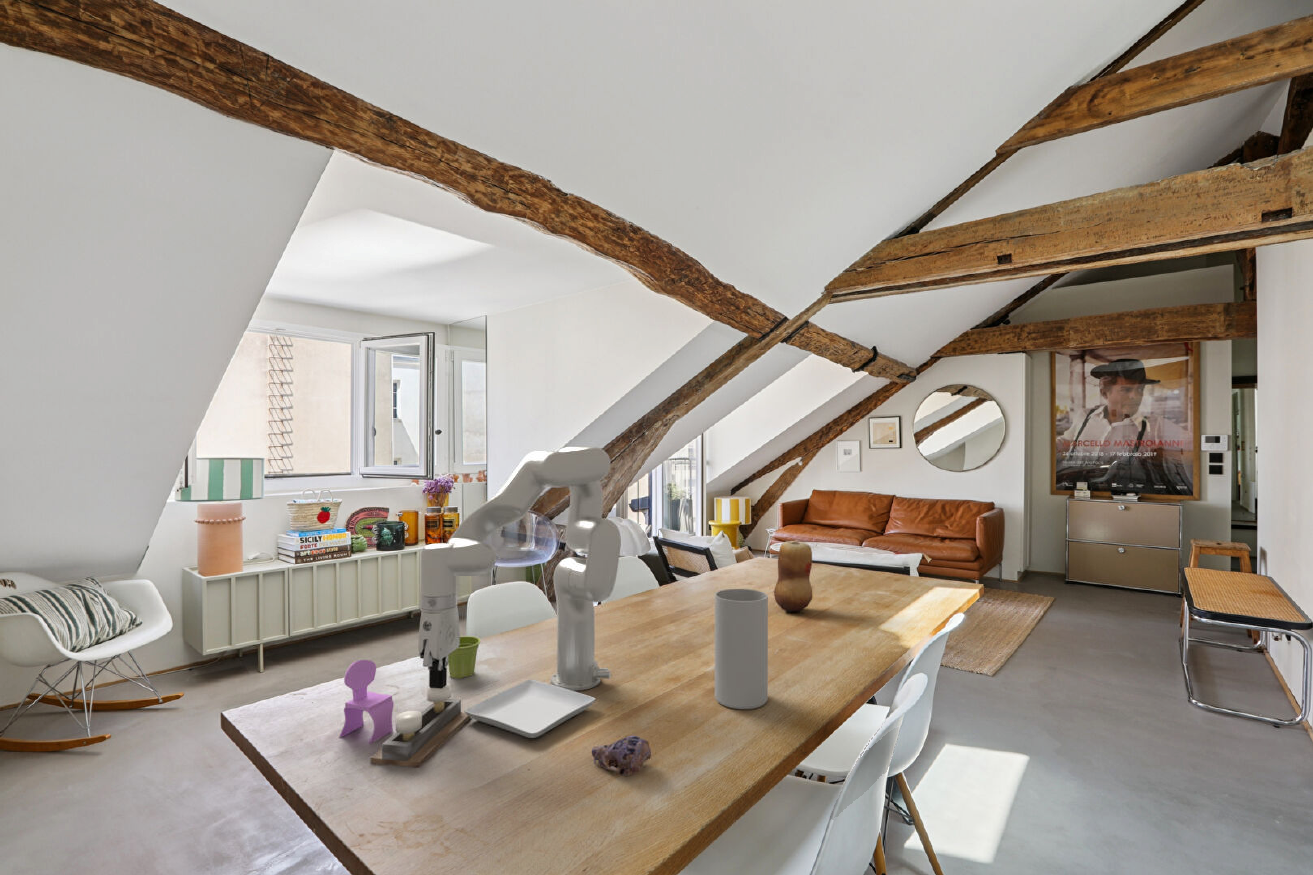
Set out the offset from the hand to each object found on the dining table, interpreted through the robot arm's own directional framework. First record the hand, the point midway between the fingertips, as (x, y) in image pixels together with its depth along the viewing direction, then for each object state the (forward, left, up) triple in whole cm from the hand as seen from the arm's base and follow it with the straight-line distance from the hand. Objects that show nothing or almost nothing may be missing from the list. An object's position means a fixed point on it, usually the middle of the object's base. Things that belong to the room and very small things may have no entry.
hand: (437, 686), depth 139 cm
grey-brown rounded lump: (-43, +10, -9) cm, 45 cm away
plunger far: (0, 0, -5) cm, 5 cm away
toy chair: (+13, +6, -9) cm, 17 cm away
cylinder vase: (-64, -25, -9) cm, 69 cm away
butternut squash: (-80, -107, -9) cm, 134 cm away
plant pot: (+9, -29, -9) cm, 32 cm away
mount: (0, +6, -9) cm, 10 cm away
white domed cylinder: (0, +12, -7) cm, 13 cm away
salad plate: (-18, -8, -9) cm, 22 cm away
